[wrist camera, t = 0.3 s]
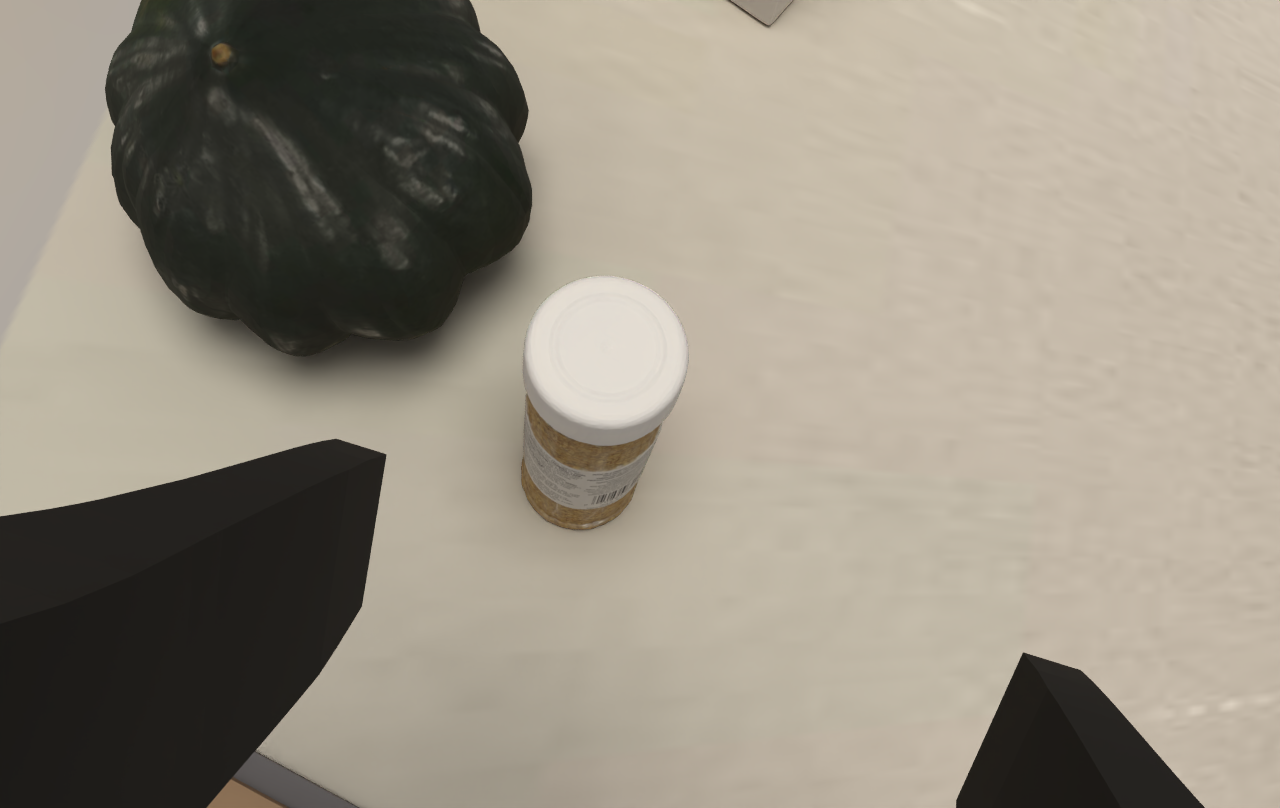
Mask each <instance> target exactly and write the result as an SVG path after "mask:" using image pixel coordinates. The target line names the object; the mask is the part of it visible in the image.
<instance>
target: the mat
mask: <svg viewBox="0 0 1280 808" xmlns="http://www.w3.org/2000/svg"><path fill="white" fill-rule="evenodd" d="M233 777H234V778H236V779H238V780H239V781H241V782H243V783H245V784H247V785H249V786H250V787H252V788H254V789H256V790H258V791H260V792H261V793H263V794H265V795H267V796H269V797H271V798H272V799H274V800H276V801H278V802H280V803H282V804H283V805H285V806H287V807H289V808H359V807H357V806H355V805H353V804H351V803H350V802H348V801H346V800H344V799H342V798H340V797H339V796H337V795H335V794H333V793H331V792H329V791H327V790H326V789H324V788H322V787H320V786H318V785H316V784H315V783H313V782H311V781H309V780H307V779H305V778H304V777H302V776H300V775H298V774H296V773H294V772H293V771H291V770H289V769H287V768H285V767H283V766H281V765H280V764H278V763H276V762H274V761H272V760H270V759H269V758H267V757H265V756H263V755H261V754H259V753H258V752H256V751H255V752H254V753H253V754H252V755H251V756H250V757H249V759H248V760H247V761H246V762H245V763H244V764H243V766H242V767H241V768H240V769H239V770H238V771H237V773H236V774H235V775H234V776H233Z"/></svg>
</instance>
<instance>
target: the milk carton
mask: <svg viewBox="0 0 1280 808" xmlns="http://www.w3.org/2000/svg"><path fill="white" fill-rule="evenodd" d="M731 1H732V2H734V3H735V4H737V5H738V6H740V7H741V8H743V9H744V10H745V11H747V12H748V13H750V14H751V15H753V16H754V17H756V18H757V19H758V20H760V21H761V22H763V23H765V24H766V25H771V24H772V23H773V22H774V21H775V20H776V19H777V17H778V16H779V15H780V14H781V13H782V12H783V11H784V10H785V9H786V7H787V6H788V5H789V4H790V3H791V2H792V1H793V0H731Z"/></svg>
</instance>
